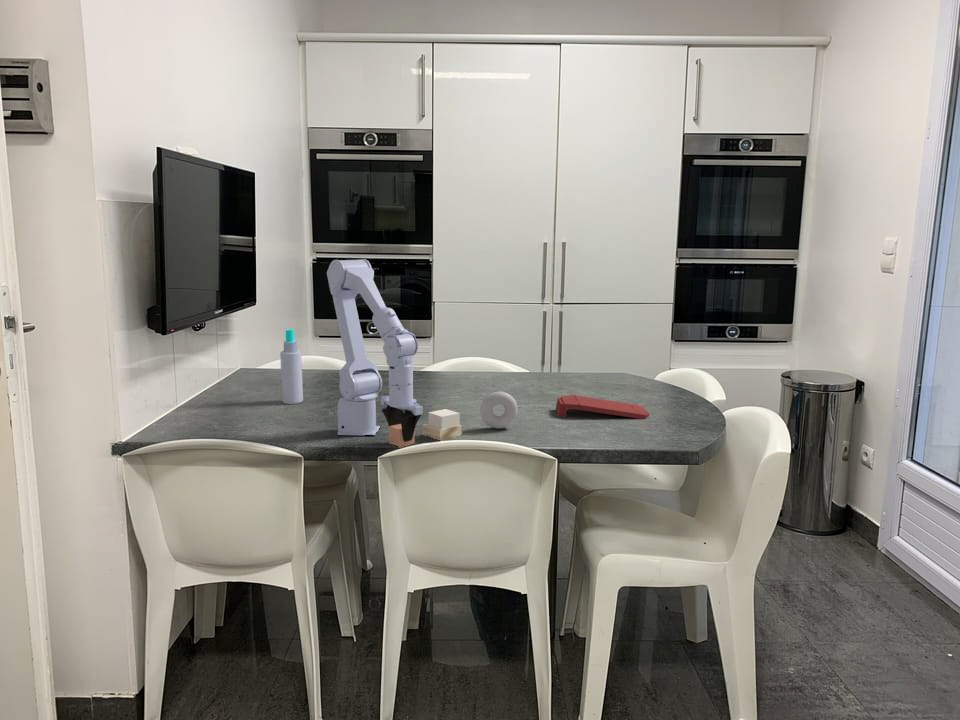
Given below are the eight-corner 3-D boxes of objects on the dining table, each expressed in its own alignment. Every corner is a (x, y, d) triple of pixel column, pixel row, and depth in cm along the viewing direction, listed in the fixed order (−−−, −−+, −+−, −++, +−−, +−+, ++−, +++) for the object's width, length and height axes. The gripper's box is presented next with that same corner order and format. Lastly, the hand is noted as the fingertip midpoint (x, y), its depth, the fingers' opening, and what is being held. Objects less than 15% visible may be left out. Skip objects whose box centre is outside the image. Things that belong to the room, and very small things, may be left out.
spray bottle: (297, 405, 217) (294, 331, 213) (278, 404, 218) (275, 330, 214) (306, 400, 222) (303, 328, 219) (288, 399, 224) (285, 328, 220)
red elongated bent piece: (638, 421, 215) (554, 408, 215) (641, 405, 215) (557, 392, 214) (647, 432, 203) (559, 419, 203) (651, 415, 203) (562, 402, 202)
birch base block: (440, 442, 180) (440, 430, 180) (422, 436, 185) (422, 424, 185) (461, 437, 185) (461, 425, 184) (444, 431, 190) (444, 420, 189)
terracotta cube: (399, 447, 174) (399, 430, 174) (389, 443, 178) (388, 426, 177) (414, 444, 177) (414, 426, 177) (403, 440, 181) (403, 423, 180)
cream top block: (442, 429, 180) (442, 416, 180) (428, 424, 185) (428, 412, 184) (459, 425, 184) (459, 413, 184) (446, 421, 188) (446, 408, 188)
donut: (480, 430, 190) (480, 393, 188) (479, 427, 193) (479, 390, 191) (518, 429, 191) (519, 392, 189) (516, 426, 194) (516, 389, 192)
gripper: (432, 386, 172) (433, 441, 175) (397, 376, 183) (397, 429, 185) (408, 390, 168) (409, 447, 170) (373, 380, 178) (374, 434, 181)
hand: (401, 438), depth 177 cm, fingers closed on terracotta cube, 4 cm apart
